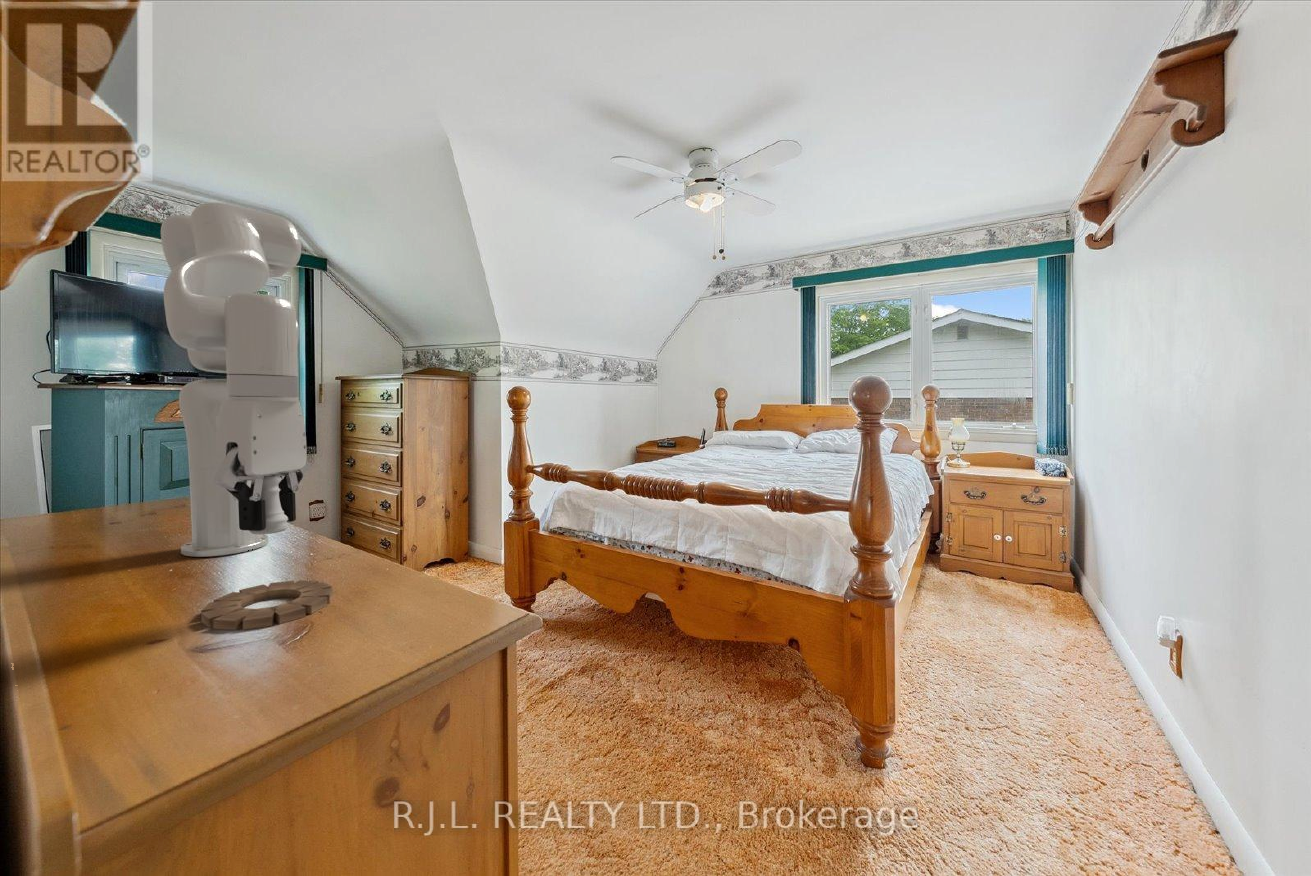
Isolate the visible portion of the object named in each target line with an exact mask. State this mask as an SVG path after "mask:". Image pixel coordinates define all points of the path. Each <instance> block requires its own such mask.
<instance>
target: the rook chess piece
mask: <svg viewBox="0 0 1311 876" xmlns="http://www.w3.org/2000/svg"><path fill="white" fill-rule="evenodd" d="M282 479H283V477H282V478H281V477H280V476H279V474H275V475H269V476H264V477H263V484H262V491H261V497H260V499H259V500H265V514H266V528H265V529H264V530H261V531H251V530H249V531H250V532H251V533H252V534H260V535H261V534H264V535H270V534H272V535H273V534H277V533H282V532H284V531H286V530H287V529H288V528H289V526H290V525H289V524H288V522H286V521H287V520H288V517H287V516H286V515H285V514H284V511H283V510H282V508H281V504H280V499H279V491H280V489H279V487H278V485H279V483H280V481H281V480H282Z"/></svg>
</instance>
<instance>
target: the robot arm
mask: <svg viewBox="0 0 1311 876" xmlns="http://www.w3.org/2000/svg"><path fill="white" fill-rule="evenodd" d="M160 226H161V227H160V238H161V239H160V240H161V245H162V250H163V254H164V258H165V260H166V263H167V265H168V267H169V269H170V272H169V274H168V276H167V277H166V280H165V283H164V288H163V303H164V304H163V305H164V312H165V320H166V327H167V329H168V332H169V333H168V334H169V335H170V337H171V339H172V340H173V341H174V343H176V344H177V345H178V346H180V347H181V348H183V349H186V350H187V356H188V359H189V362H190V364H191V365H192V366H193V368H195V369H197V370H200V371H204V372H208V373H210V372H211V373H219V374H226V378H204V379H203V378H202V379H197V380H193V381H190V382H188V383H186V384H185V385H184V386H183V387H182V388H181V390H180V391H179V394H178V402H179V403H178V404H179V409H180V413H181V418H182V422H183V426H184V431H185V436H186V444H187V455H188V456H187V459H188V473H189V476H188V477H189V494H190V495H189V497H190V498H189V499H190V501H189V502H190V516H191V518H190V521H191V541H189V542H186V543H184V544H183V545H182V546H181V547H180V554H181V555H183V556H184V557H185V556H186V557H195V558H196V557H197V558H201V557H202V558H205V557H206V558H207V557H219V556H227V555H233V554H239V553H240V554H241V553H245V552H249V551H253V550H257V549H259V548H262V547H264V546H266V545H267V544H268V543H269V536H268V534H261V535H260V534H252V533H251V532H250V531H249V530H251V531H261V530H264V529H265V528H266V514H265V500H259V499H260V497H261V491H262V484H263V477H264V476H269V475H275V474H279V476H280V477H281V478H282V480H281V481H280V483H279V485H278V487H279V489H280V491H279V499H280V504H281V508H282V510H283V511H284V514H285V515H286V516H287V517H288V520H287V521H286V523H291V522H295V521H296V519H297V514H296V513H297V511H296V509H297V507H296V506H297V505H296V493H298V491H299V488H300V486H299V484H300V483H301V482H302V479H303V478H304V476H305V474H306V473H307V472H308V471H309V470H310V469H311V463H310V462H309V460H308V458H307V455H308V454H307V453H308V452H307V449H308V448H307V447H308V446H307V436H306V427H305V420H304V415H303V411H302V410H303V409H302V406H301V402H300V398H299V397H300V396H299V394H300V393H299V389H300V388H299V369H298V368H299V366H298V364H299V362H298V344H299V341H300V328H299V327H300V326H299V323H298V320H297V312H296V311H297V310H296V308H295V306H294V304H293V303H292V302H291V301H290V300H288V299H286V298H283V297H280V296H276V295H270V294H264V293H263V294H262V293H256V292H258V291H261V289H262V288H264V287H265V285H266V284H267V282H268V281H269V278H279V277H282V276H283V275H285V274H287V273H288V272H289V271H291V270H292V269H294V268H295V266H296V265H297V264H298V263H299V261H300V259H301V254H302V242H301V241H302V240H301V237H300V234H299V231H298V230H297V228H296V226H294V224H293V223H292V222H291V221H290V220H288V219H286V217H283V216H279V215H277V214H272V213H268V212H264V211H259V210H256V209H251V208H247V207H242V206H237V205H234V204H229V203H224V202H223V203H222V202H207V203H206V202H205V203H203V204H200V205H198V206H196V207H195V208H194V209H193V211H192V212H191V215H187V214H175V215H170V216H168V217H166V218H165V219H163V222H162V224H161V225H160ZM252 549H253V550H252ZM248 550H249V551H248Z"/></svg>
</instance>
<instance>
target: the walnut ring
mask: <svg viewBox="0 0 1311 876" xmlns="http://www.w3.org/2000/svg"><path fill="white" fill-rule="evenodd" d="M333 593H334V591H333V587H332V585H330V584H328V583H325V582H324V581H321V582H319V580H307V579H305V580H304V579H300V580H298V581H295V580H288V581H287V580H286V581H277V582H270V583H269V584H268V585H266V584H260V585H255V586H250V587H246V588H243V589H239V591H235V592H234V591H232V592H230V593H226V594H225V595H222V596H220V597H217V598H215V599H213V601H210V602H208V603H207V604H206V605H205V606H204V607H203V609H202V610H201V614H200V615H201V619H200V620H201V623H202V624H204V625H205V626H206V627H207V628H208V629H210V628H213V630H224V631H238V630H239V629H241V628H242V630H243V631H244V630H252V629H257V628H258V629H259V628H266V627H273V625H274V623H275V622H276V623H277V624H279V625H282V624H285V623H288V622H292V621H295V620H299V619H301V618H306V615H307V614H308V615H313V614H315V613H317V612H318V611H320V610H321V609H323V608H325V607H327V606H328V604H330V603H331V602H332V599H333ZM280 598H292V599H293V598H294V599H293V600H291V601H289V602H286V603H285V602H284V603H281V604H278V605H275V606H269V607H268V606H267V607H260V608H249V607H248V606H250V605H252V604H256V603H259V602H263V601H268V600H272V599H280ZM246 607H247V608H246Z"/></svg>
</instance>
